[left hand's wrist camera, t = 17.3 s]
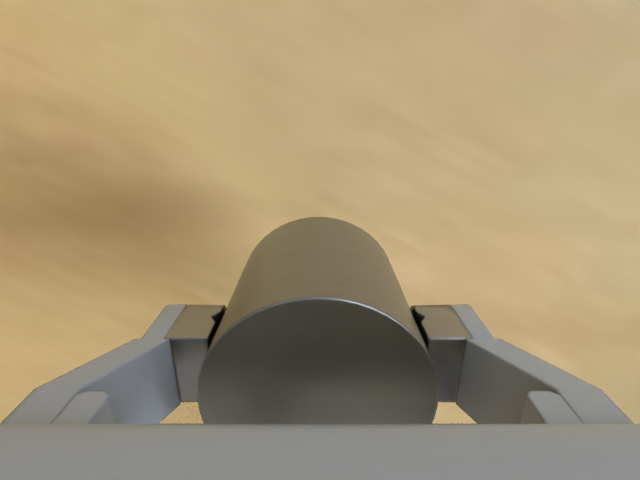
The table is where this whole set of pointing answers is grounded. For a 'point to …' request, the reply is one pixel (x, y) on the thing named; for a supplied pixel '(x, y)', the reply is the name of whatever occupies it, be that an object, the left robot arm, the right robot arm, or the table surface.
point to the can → (318, 336)
